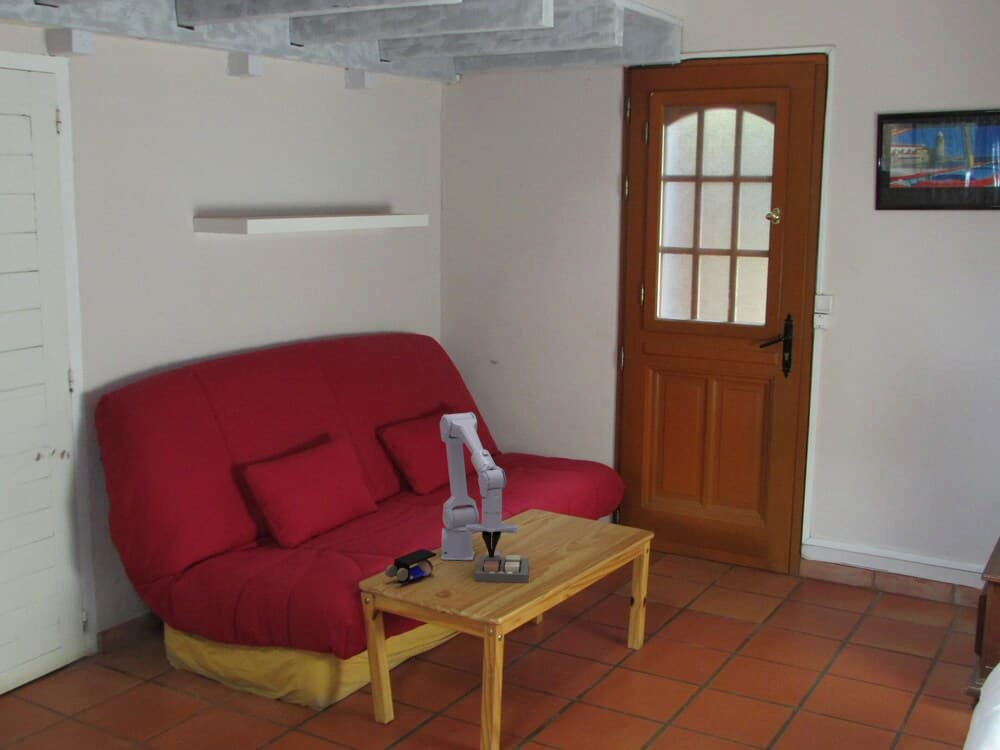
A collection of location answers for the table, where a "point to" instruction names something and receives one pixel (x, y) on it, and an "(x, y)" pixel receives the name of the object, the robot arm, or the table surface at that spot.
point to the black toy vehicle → (404, 563)
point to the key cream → (511, 566)
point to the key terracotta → (491, 566)
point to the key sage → (513, 558)
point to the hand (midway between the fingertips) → (491, 556)
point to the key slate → (496, 557)
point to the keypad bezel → (502, 572)
